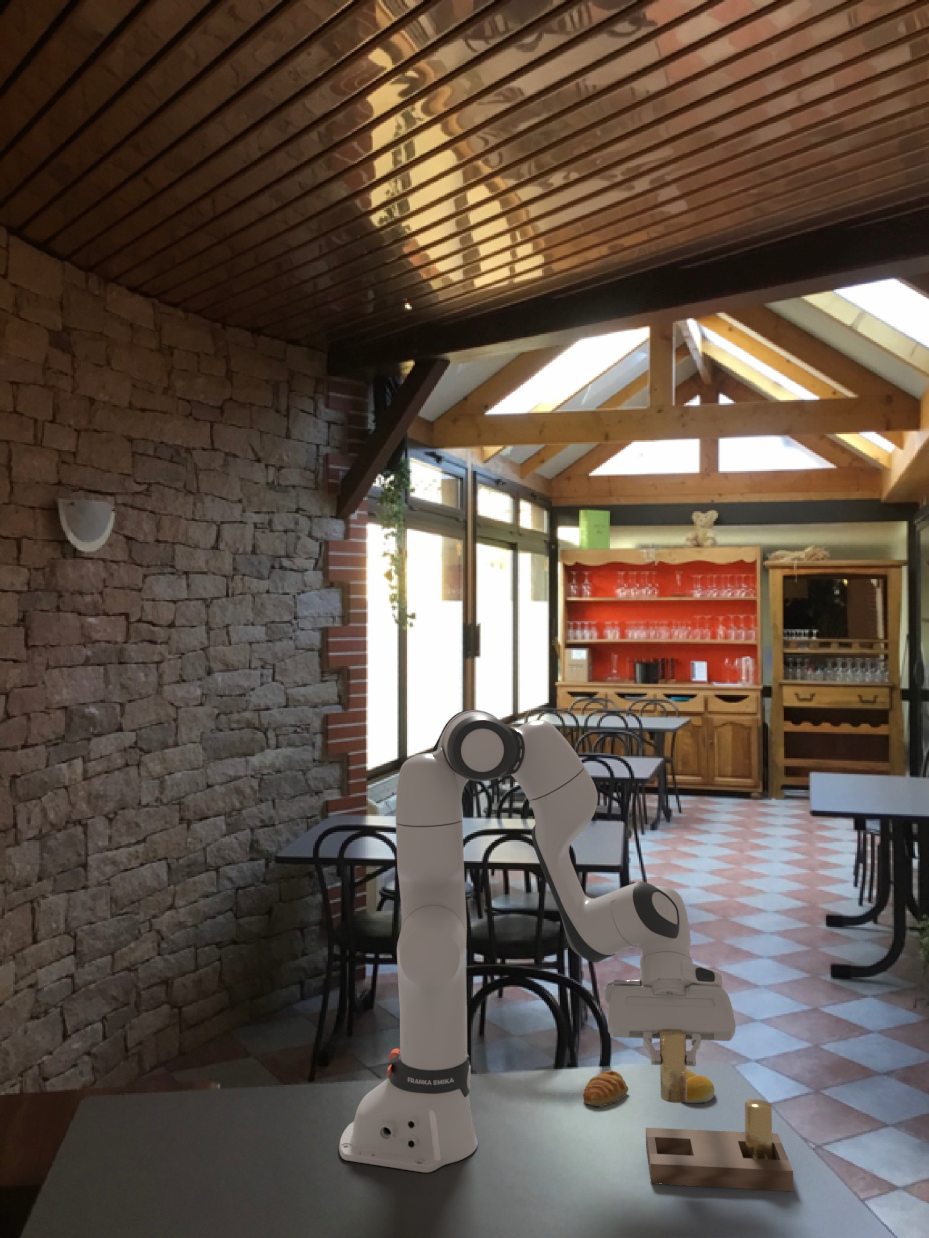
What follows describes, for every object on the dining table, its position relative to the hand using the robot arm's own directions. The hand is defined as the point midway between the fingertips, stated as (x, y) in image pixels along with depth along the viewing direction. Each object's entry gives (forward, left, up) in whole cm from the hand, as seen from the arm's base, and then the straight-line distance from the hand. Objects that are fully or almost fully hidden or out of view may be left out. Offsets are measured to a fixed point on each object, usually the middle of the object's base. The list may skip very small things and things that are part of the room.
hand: (673, 1063), depth 162 cm
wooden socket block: (+6, +1, -16) cm, 17 cm away
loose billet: (0, +1, -5) cm, 5 cm away
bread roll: (+5, +28, -16) cm, 33 cm away
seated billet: (+13, +1, -16) cm, 21 cm away
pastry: (-10, +25, -16) cm, 32 cm away
